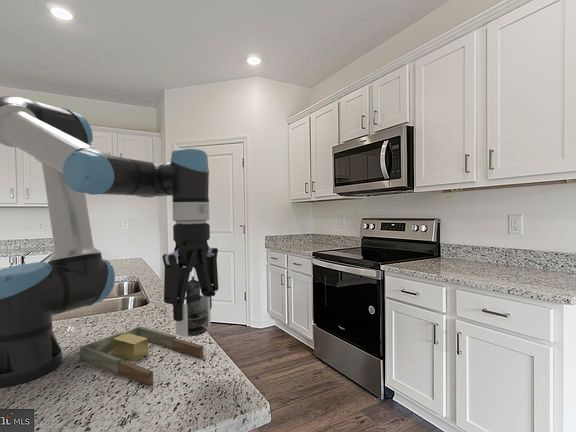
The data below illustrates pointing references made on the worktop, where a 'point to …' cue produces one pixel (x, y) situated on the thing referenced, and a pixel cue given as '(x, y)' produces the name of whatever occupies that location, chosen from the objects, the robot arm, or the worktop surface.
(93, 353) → the frame
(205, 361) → the worktop surface
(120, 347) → the chip
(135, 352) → the tan wooden cube
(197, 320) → the salt shaker
